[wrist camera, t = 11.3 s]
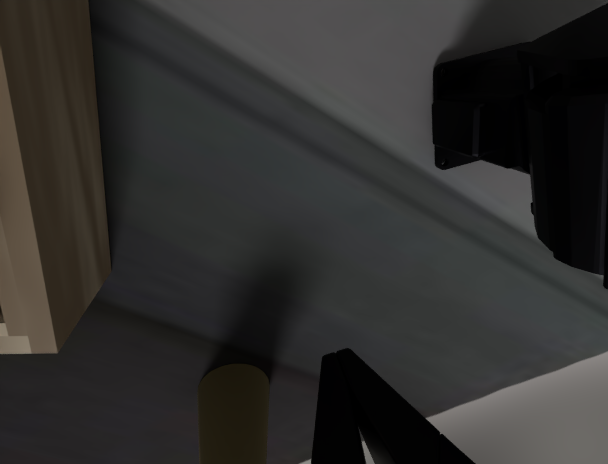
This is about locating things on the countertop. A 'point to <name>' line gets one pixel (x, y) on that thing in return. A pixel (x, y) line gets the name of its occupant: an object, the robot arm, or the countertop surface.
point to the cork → (233, 415)
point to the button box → (48, 174)
